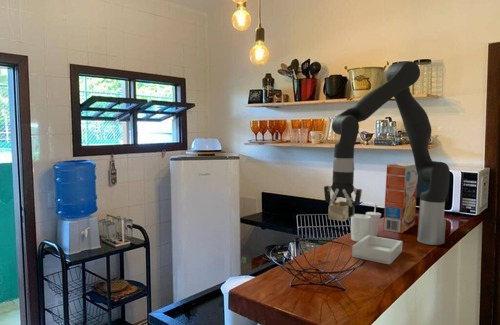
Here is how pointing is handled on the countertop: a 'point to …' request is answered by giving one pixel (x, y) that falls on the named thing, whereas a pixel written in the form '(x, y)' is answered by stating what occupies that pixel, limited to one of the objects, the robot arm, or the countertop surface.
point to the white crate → (377, 249)
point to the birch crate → (339, 211)
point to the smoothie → (374, 222)
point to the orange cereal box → (400, 197)
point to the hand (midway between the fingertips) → (341, 215)
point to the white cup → (360, 226)
